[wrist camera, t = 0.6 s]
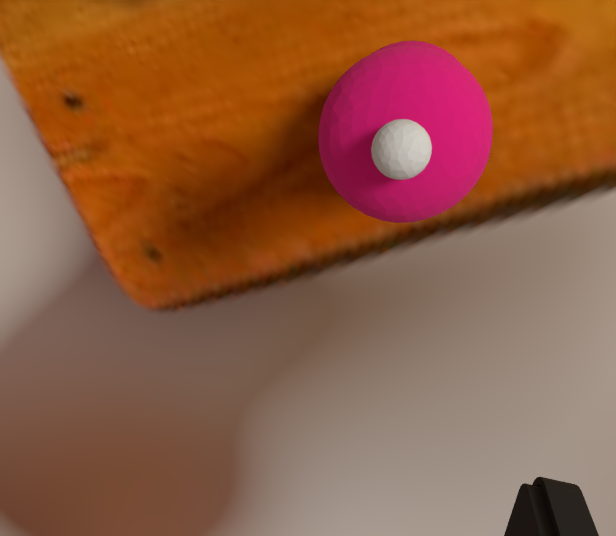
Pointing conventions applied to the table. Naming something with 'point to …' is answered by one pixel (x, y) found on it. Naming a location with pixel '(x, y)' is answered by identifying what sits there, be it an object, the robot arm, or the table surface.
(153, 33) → the table surface
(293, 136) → the table surface
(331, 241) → the table surface
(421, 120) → the pepper mill
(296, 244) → the table surface
